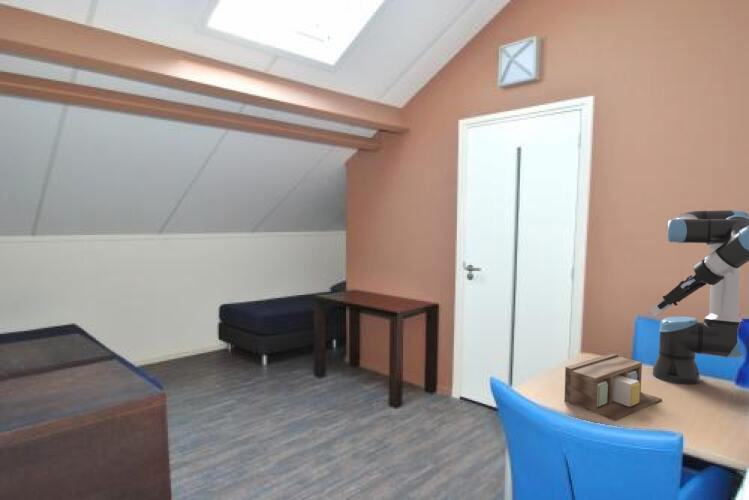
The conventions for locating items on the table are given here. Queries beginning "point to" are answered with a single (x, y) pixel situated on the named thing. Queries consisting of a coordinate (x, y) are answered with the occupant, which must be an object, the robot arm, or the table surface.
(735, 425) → the table surface
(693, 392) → the table surface
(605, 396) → the sage key
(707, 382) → the table surface
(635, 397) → the mustard key
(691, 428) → the table surface
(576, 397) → the brown boxy piece
